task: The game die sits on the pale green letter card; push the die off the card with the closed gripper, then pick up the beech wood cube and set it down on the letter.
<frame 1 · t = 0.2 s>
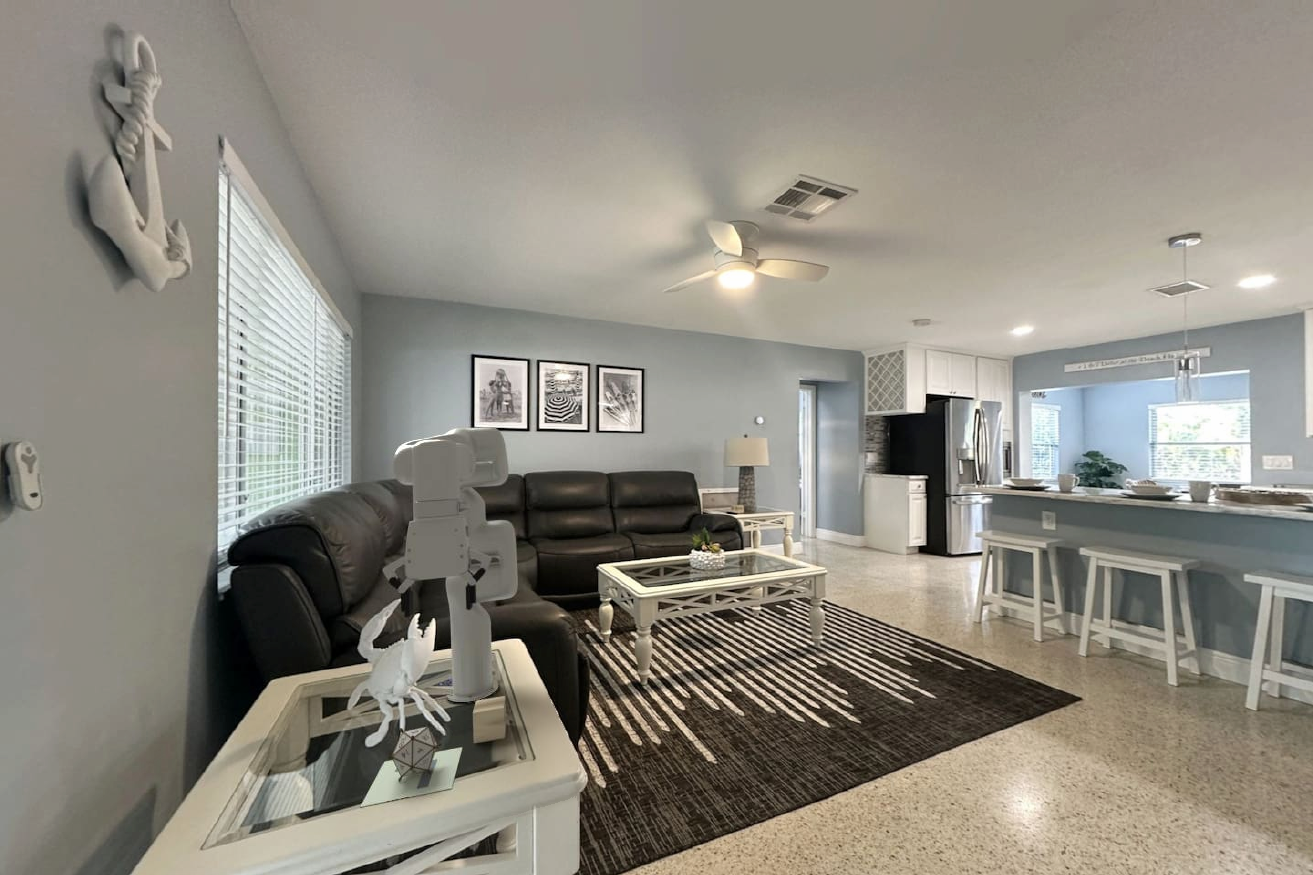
hand: (439, 611, 85), 30 cm above the table, tool pointing down, fingers open, 9 cm apart
game die: (416, 774, 90), resting on letter card
cube: (490, 733, 103), on the table
letter card: (416, 774, 90), on the table
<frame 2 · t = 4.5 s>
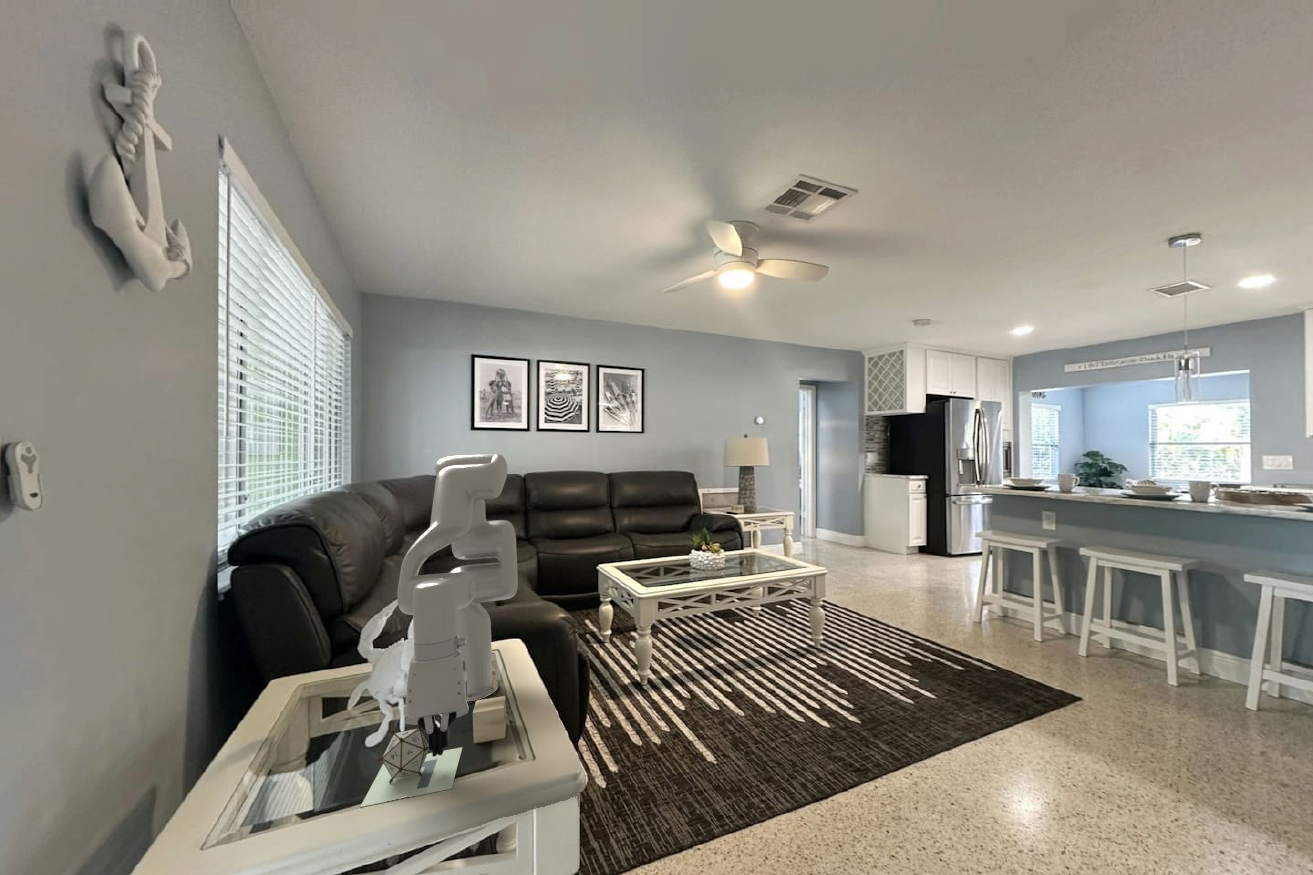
hand: (438, 751, 91), 3 cm above the table, tool pointing down, fingers closed
game die: (408, 776, 89), resting on letter card, touching gripper
everything else where it was.
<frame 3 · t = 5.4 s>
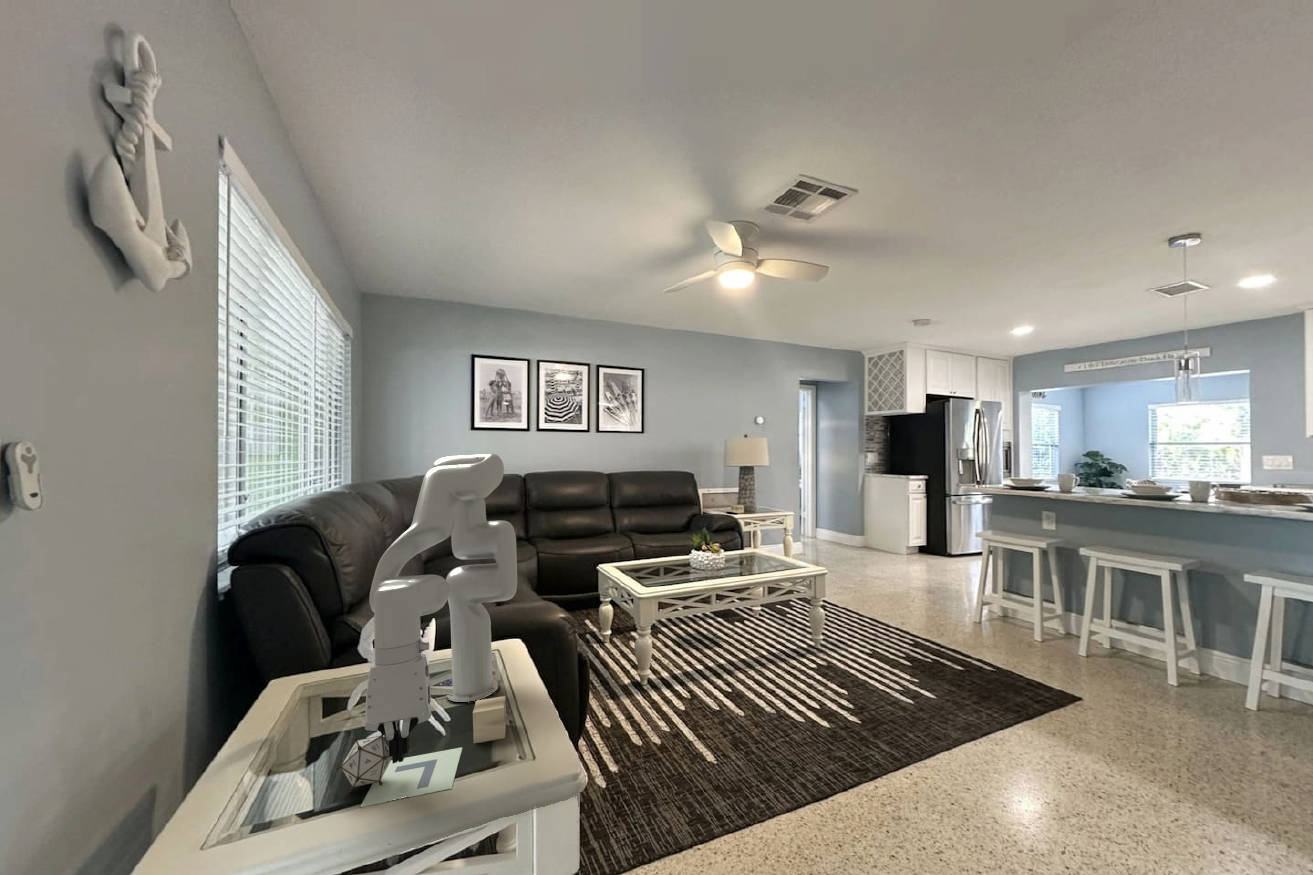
hand: (399, 758, 89), 4 cm above the table, tool pointing down, fingers closed
game die: (369, 785, 87), on the table, touching gripper
everything else where it was.
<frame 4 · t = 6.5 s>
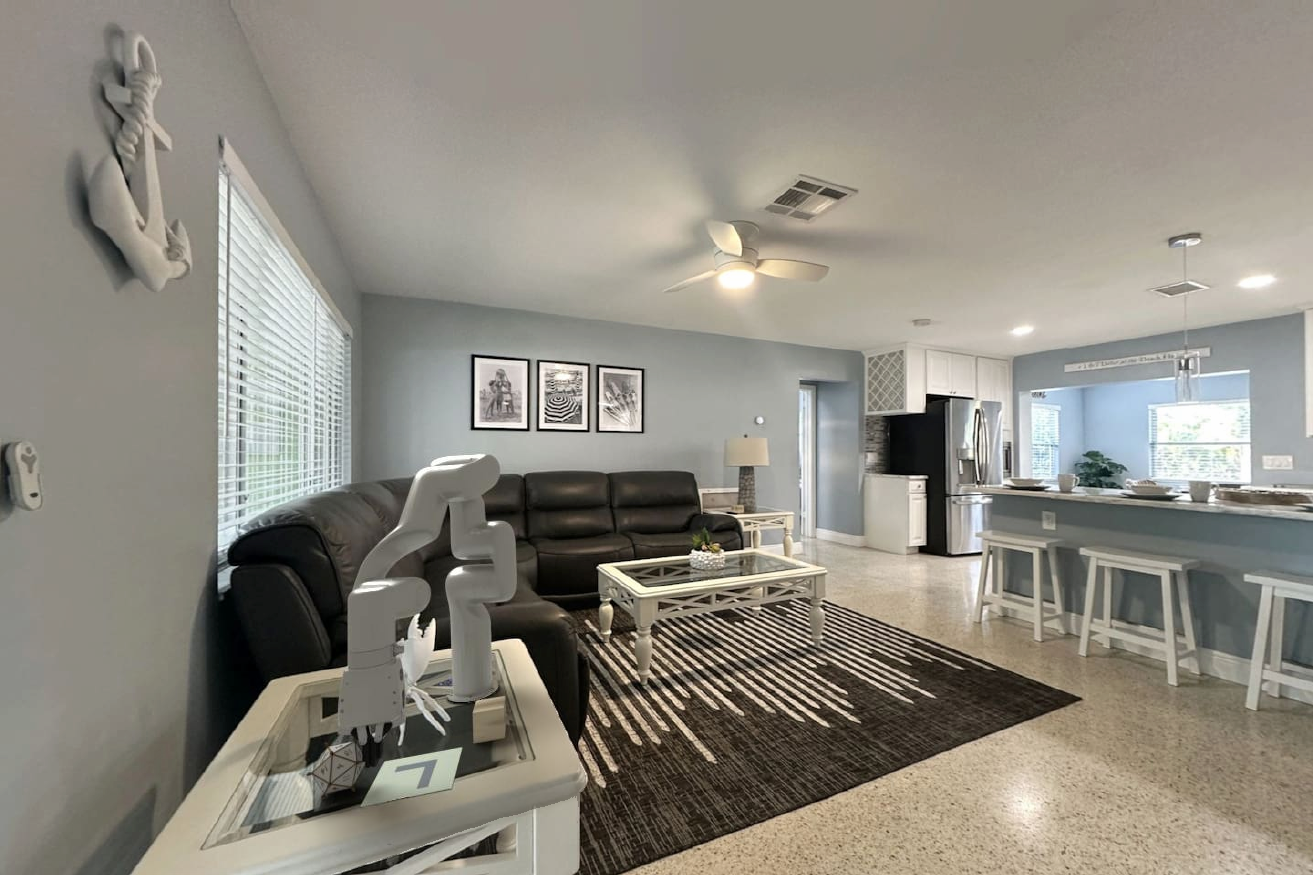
hand: (372, 763, 88), 4 cm above the table, tool pointing down, fingers closed
game die: (341, 792, 86), on the table, touching gripper
everything else where it was.
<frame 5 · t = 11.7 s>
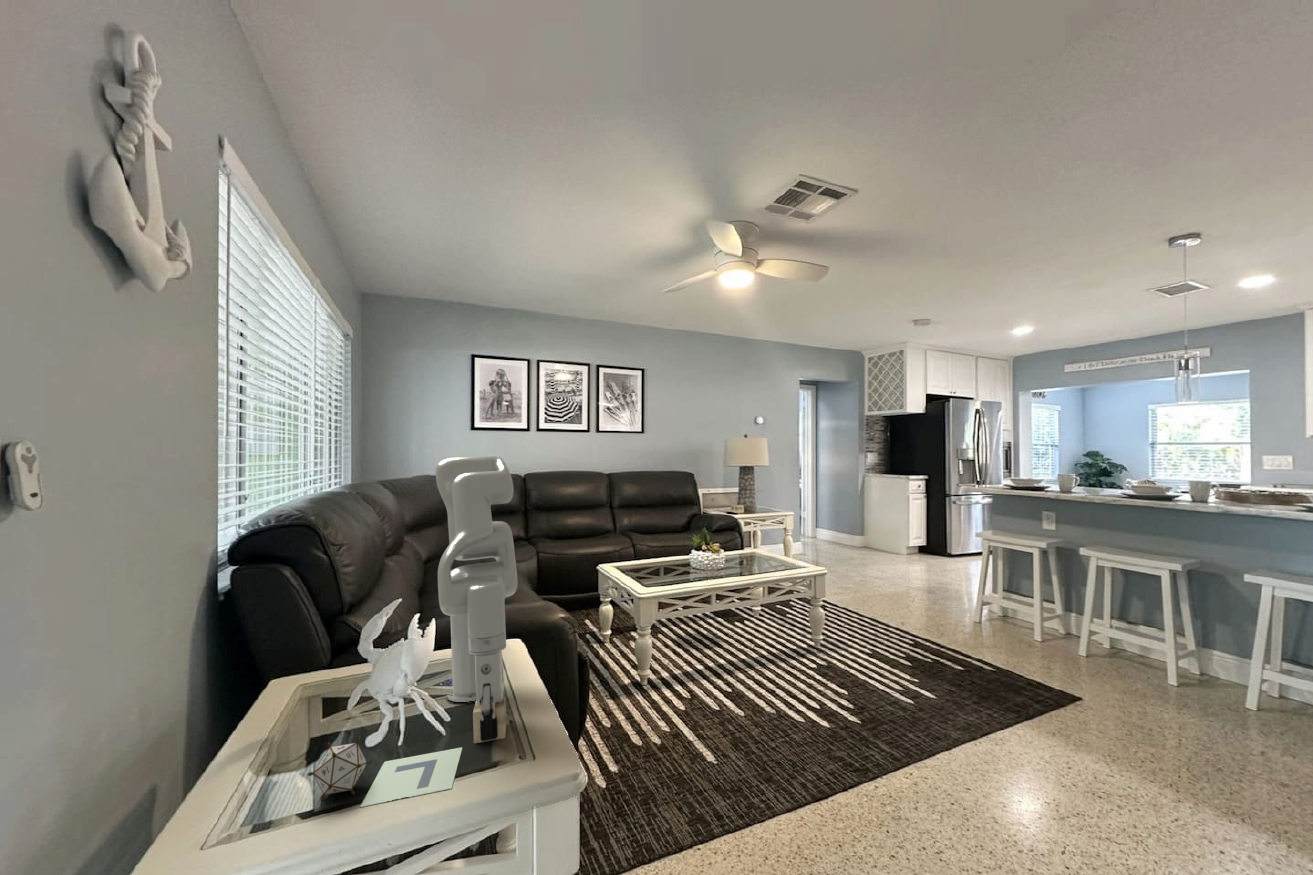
hand: (490, 730, 103), 1 cm above the table, tool pointing down, fingers closed on cube, 6 cm apart
game die: (341, 793, 86), on the table
cube: (490, 733, 103), on the table, touching gripper
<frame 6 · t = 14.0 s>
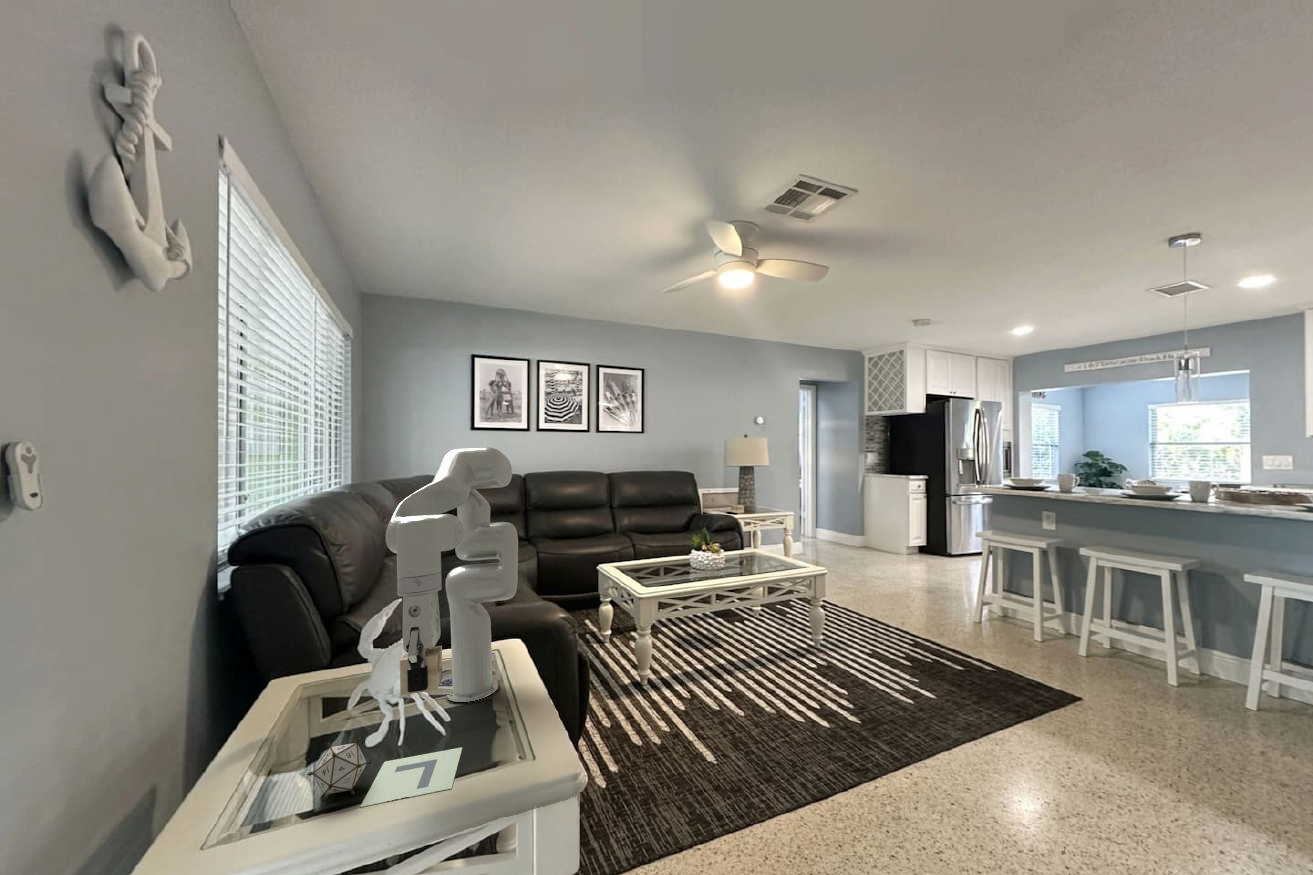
hand: (421, 682, 92), 16 cm above the table, tool pointing down, fingers closed on cube, 6 cm apart
cube: (422, 686, 92), point 15 cm above the table, touching gripper
everything else where it was.
when the fingers open (2 cm above the table, at t = 16.6 s): cube drops 1 cm, resting on letter card.
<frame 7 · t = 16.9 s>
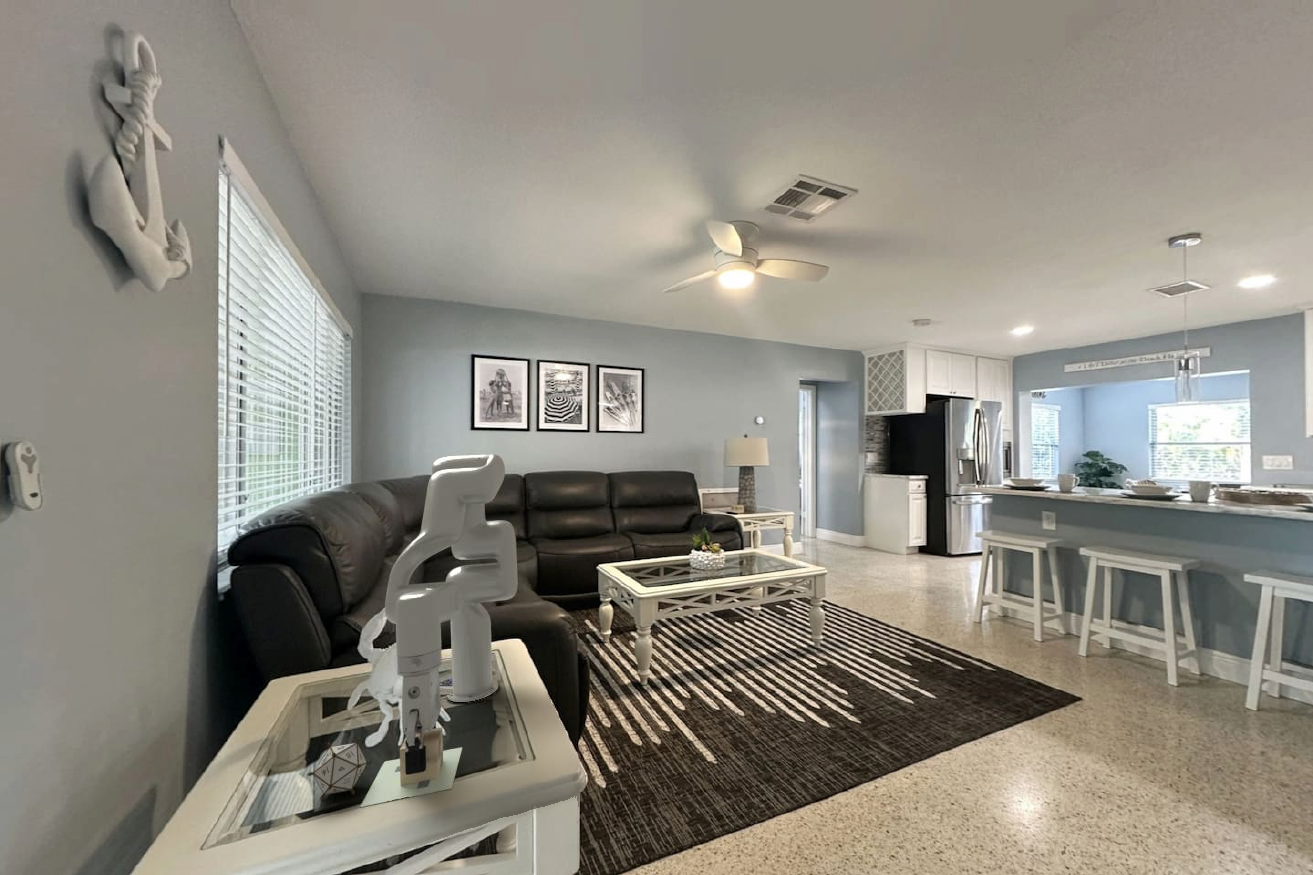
hand: (421, 757, 90), 3 cm above the table, tool pointing down, fingers open, 9 cm apart
cube: (422, 772, 90), resting on letter card
everything else where it was.
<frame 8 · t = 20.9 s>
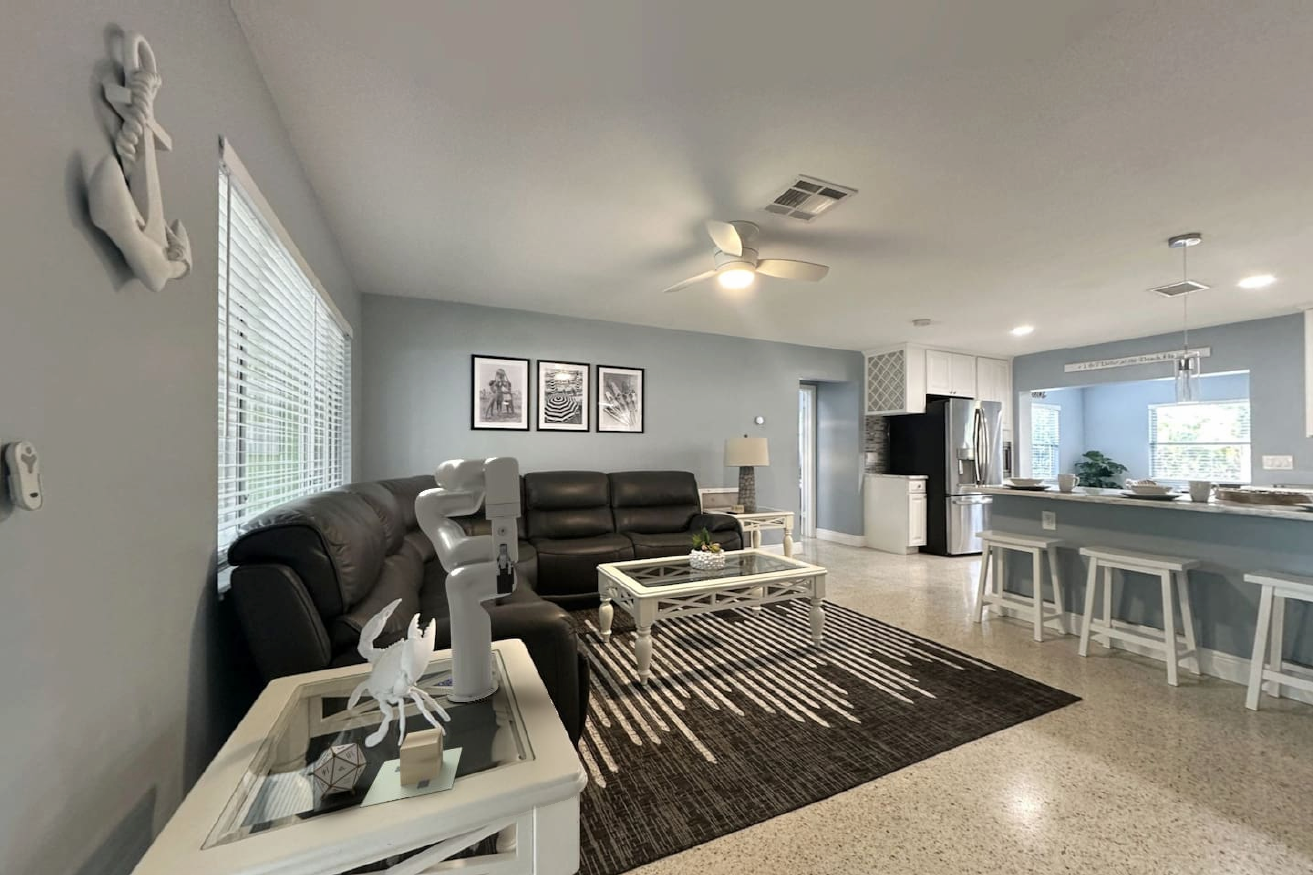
hand: (506, 588, 111), 28 cm above the table, tool pointing down, fingers open, 9 cm apart
nothing on the table moved.
at the end: game die inside the target area (9.2 cm from its centre), on the table; cube inside the target area on the letter card (1.1 cm from its centre), point 0.1 cm above the letter card's base; cube tilted 0° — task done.
